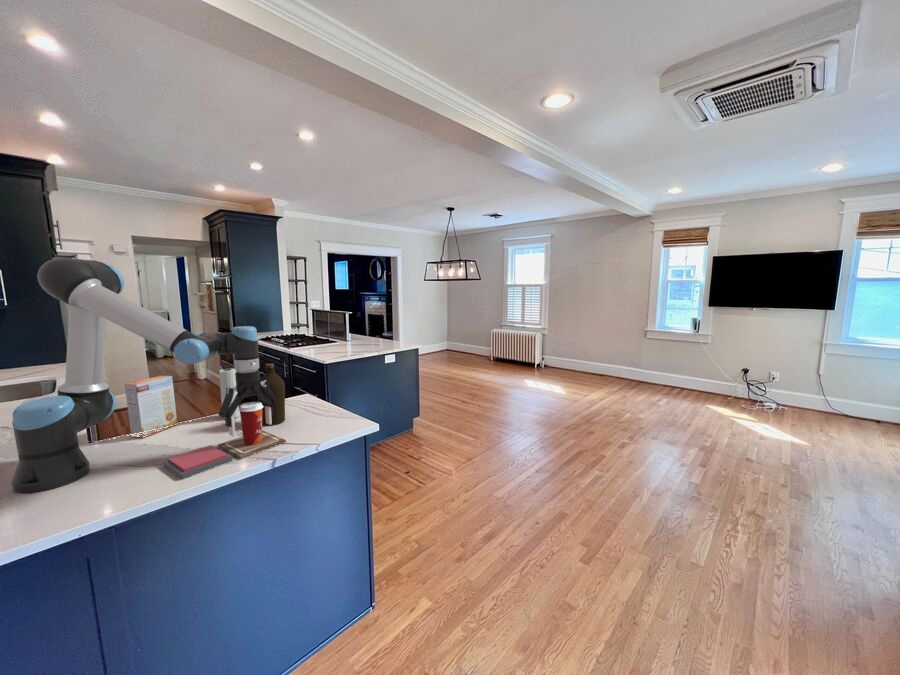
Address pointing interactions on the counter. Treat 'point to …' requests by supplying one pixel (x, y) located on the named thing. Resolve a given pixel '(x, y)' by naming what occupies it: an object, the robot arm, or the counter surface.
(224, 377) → the paper towel roll
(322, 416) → the counter surface
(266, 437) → the marked board
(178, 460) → the ink pad
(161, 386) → the cracker box
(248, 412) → the paper cup
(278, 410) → the olive oil
